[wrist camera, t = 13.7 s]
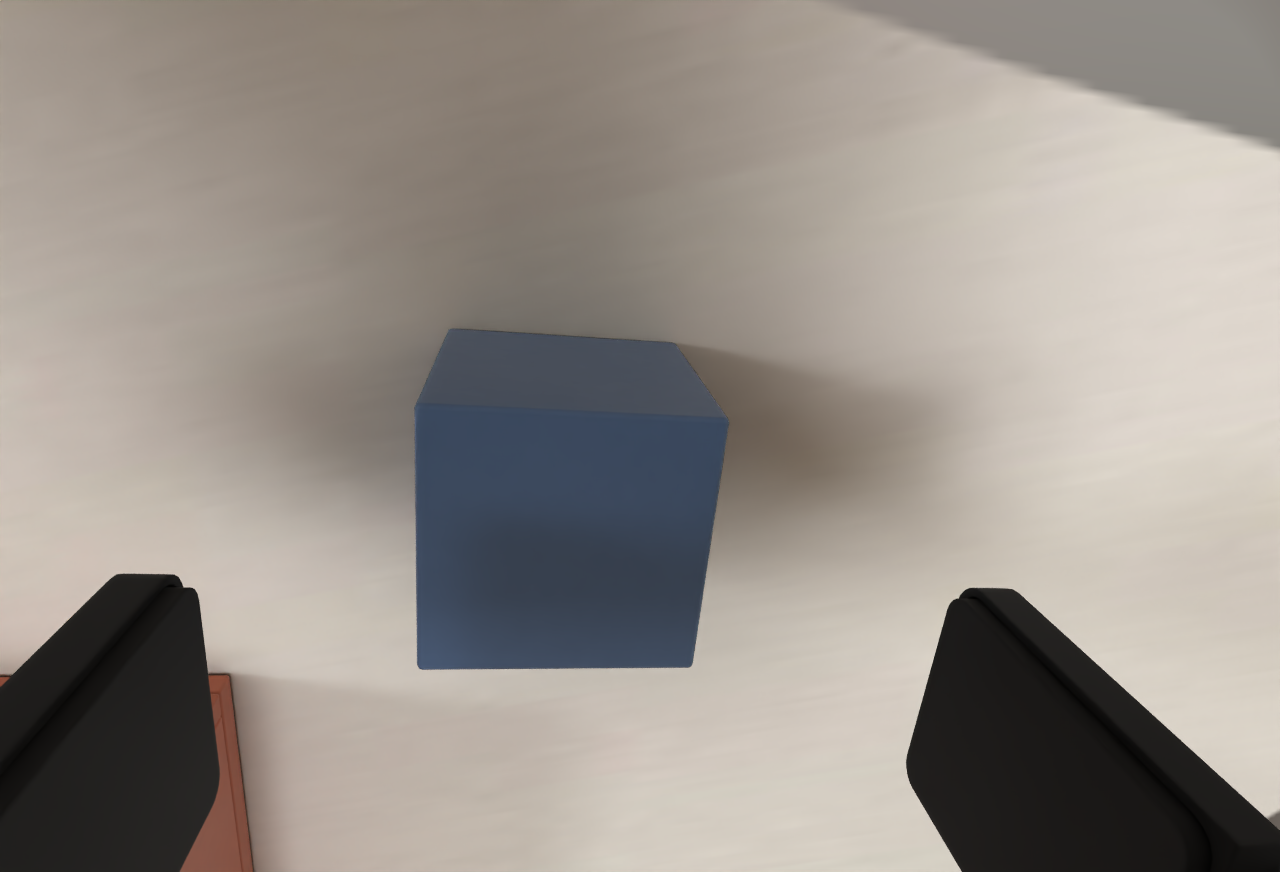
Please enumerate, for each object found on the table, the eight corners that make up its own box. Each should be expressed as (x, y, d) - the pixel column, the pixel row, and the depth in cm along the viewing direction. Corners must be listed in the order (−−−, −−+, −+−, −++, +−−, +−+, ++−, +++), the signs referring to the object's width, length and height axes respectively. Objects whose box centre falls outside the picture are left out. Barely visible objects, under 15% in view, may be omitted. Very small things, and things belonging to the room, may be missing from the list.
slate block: (448, 327, 14) (413, 403, 10) (676, 342, 15) (731, 418, 11) (446, 533, 16) (416, 671, 12) (652, 537, 17) (692, 669, 12)
